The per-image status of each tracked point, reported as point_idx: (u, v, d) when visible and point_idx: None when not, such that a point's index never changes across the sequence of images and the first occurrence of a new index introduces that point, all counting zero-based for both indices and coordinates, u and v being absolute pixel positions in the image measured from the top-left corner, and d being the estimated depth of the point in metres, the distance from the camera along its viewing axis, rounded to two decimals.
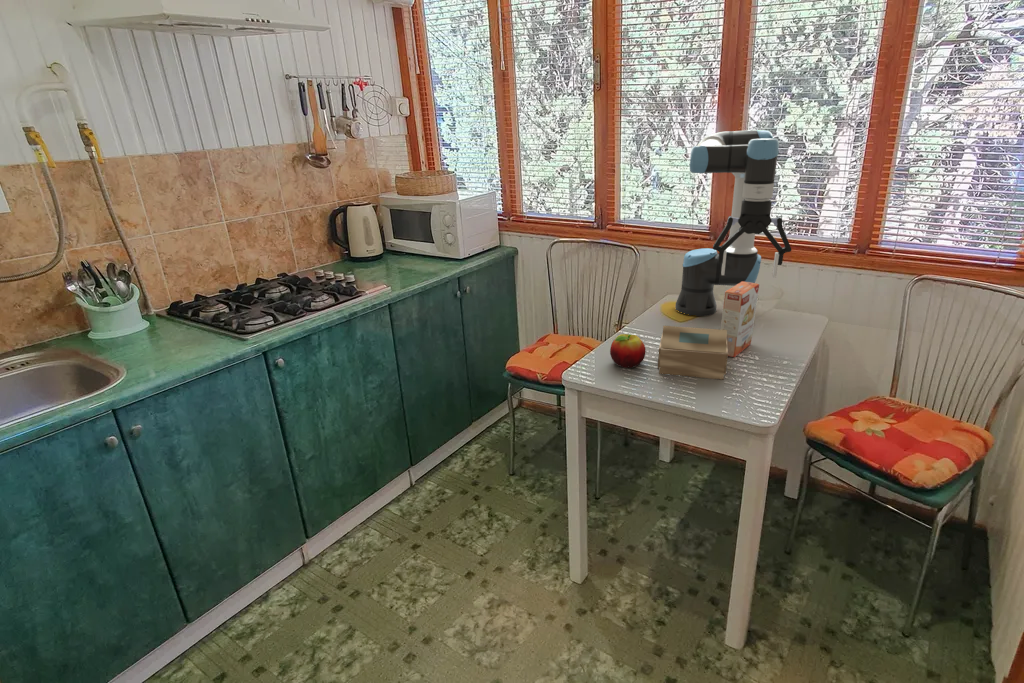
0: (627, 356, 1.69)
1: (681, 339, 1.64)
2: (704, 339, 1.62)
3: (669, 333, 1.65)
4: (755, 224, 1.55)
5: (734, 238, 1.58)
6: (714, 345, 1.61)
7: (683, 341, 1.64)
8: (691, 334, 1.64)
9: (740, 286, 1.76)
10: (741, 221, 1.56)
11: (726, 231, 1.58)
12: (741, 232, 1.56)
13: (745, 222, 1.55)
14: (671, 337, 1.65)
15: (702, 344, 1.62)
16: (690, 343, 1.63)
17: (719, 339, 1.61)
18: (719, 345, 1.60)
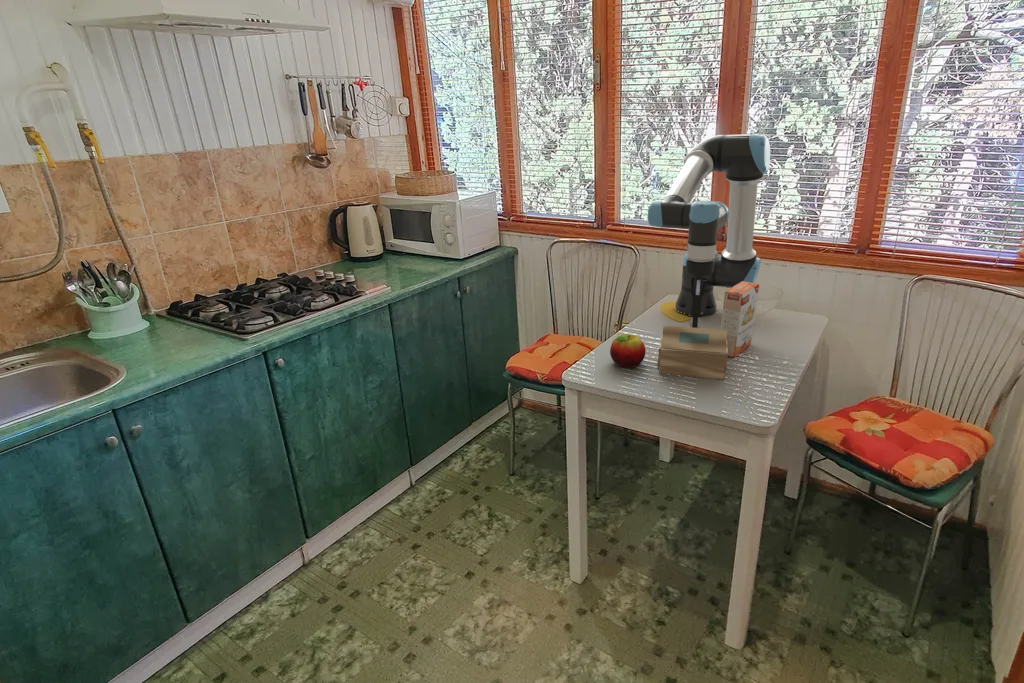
0: (627, 356, 1.69)
1: (681, 339, 1.64)
2: (704, 339, 1.62)
3: (669, 333, 1.65)
4: (694, 279, 1.60)
5: None
6: (714, 345, 1.61)
7: (683, 341, 1.63)
8: (691, 334, 1.63)
9: (740, 286, 1.76)
10: None
11: None
12: None
13: None
14: (671, 337, 1.65)
15: (702, 344, 1.62)
16: (690, 343, 1.63)
17: (719, 339, 1.61)
18: (719, 345, 1.60)
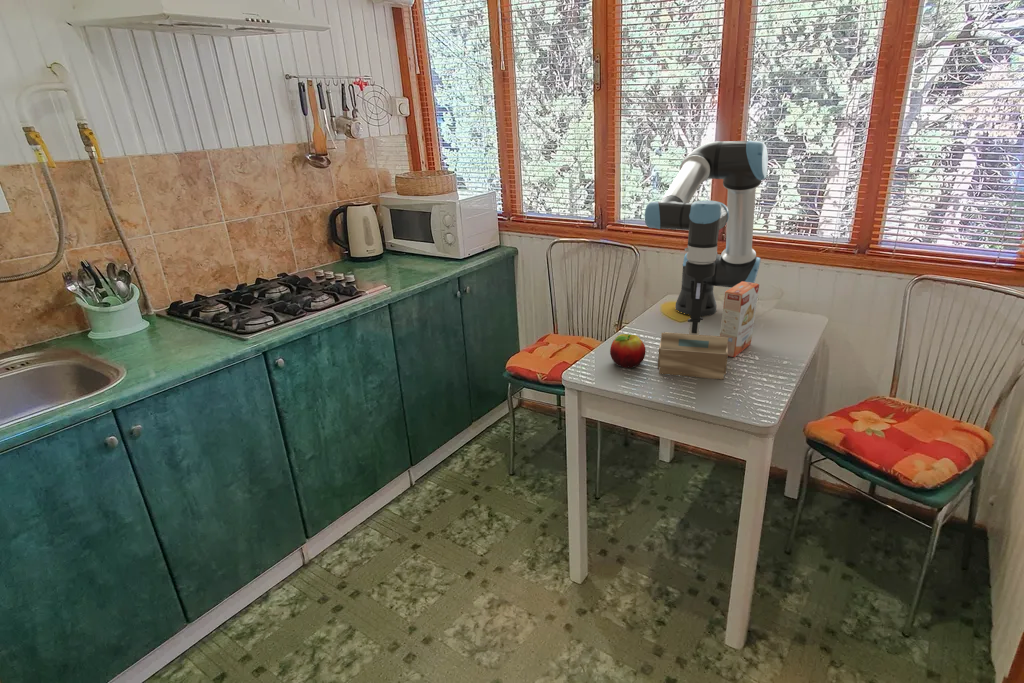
0: (627, 356, 1.69)
1: (681, 343, 1.60)
2: (704, 344, 1.58)
3: (668, 339, 1.60)
4: (694, 282, 1.53)
5: None
6: (714, 348, 1.59)
7: (682, 345, 1.61)
8: (690, 340, 1.58)
9: (740, 286, 1.76)
10: None
11: None
12: None
13: None
14: (670, 342, 1.61)
15: (702, 348, 1.60)
16: (690, 347, 1.60)
17: (719, 344, 1.57)
18: (719, 349, 1.58)
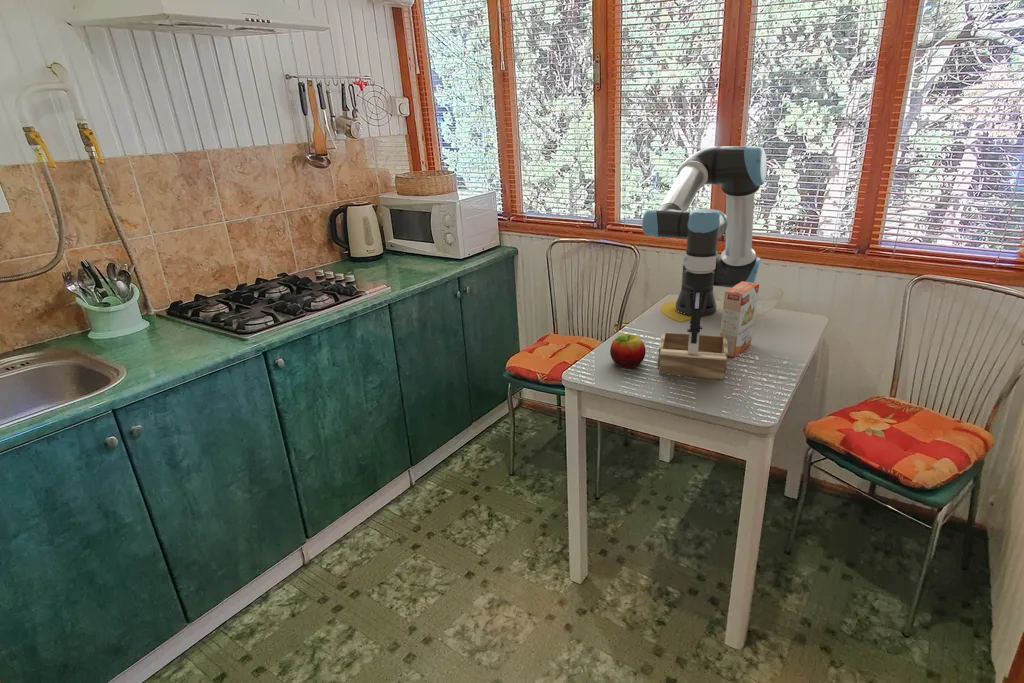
0: (627, 356, 1.69)
1: None
2: None
3: None
4: (693, 291, 1.51)
5: None
6: None
7: None
8: None
9: (740, 286, 1.76)
10: None
11: None
12: None
13: None
14: None
15: None
16: None
17: None
18: None
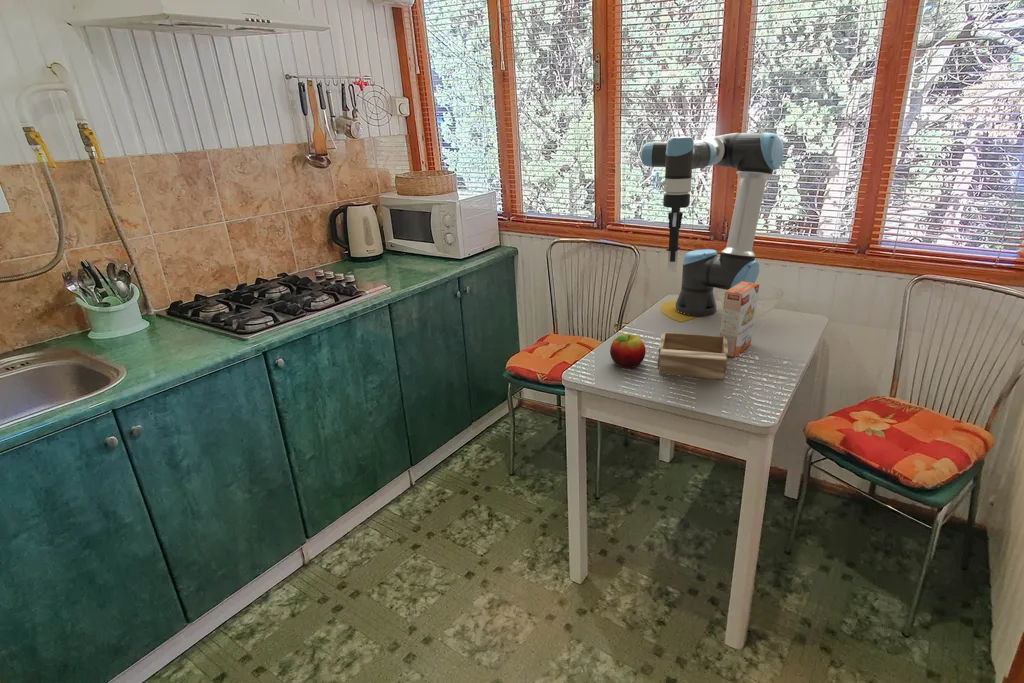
0: (627, 356, 1.69)
1: None
2: None
3: None
4: None
5: None
6: None
7: None
8: None
9: (740, 286, 1.76)
10: None
11: None
12: None
13: None
14: None
15: None
16: None
17: None
18: None
